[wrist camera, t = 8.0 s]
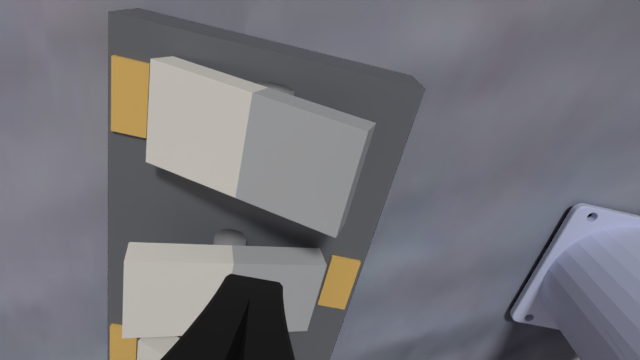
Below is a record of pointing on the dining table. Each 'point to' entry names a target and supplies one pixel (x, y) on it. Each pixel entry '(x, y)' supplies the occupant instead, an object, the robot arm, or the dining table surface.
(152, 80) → the rocker
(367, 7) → the dining table surface
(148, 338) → the rocker
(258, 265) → the rocker
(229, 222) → the switch unit
